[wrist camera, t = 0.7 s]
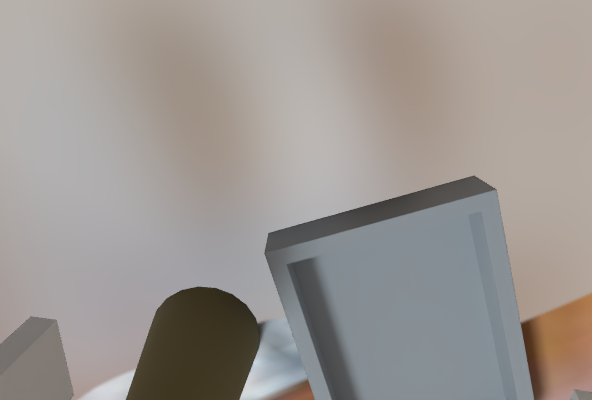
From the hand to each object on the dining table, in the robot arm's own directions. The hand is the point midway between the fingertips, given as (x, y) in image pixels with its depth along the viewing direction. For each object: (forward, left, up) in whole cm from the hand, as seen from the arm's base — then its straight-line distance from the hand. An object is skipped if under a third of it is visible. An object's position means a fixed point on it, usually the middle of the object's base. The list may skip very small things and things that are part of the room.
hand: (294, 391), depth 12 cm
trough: (+7, +4, -12) cm, 14 cm away
